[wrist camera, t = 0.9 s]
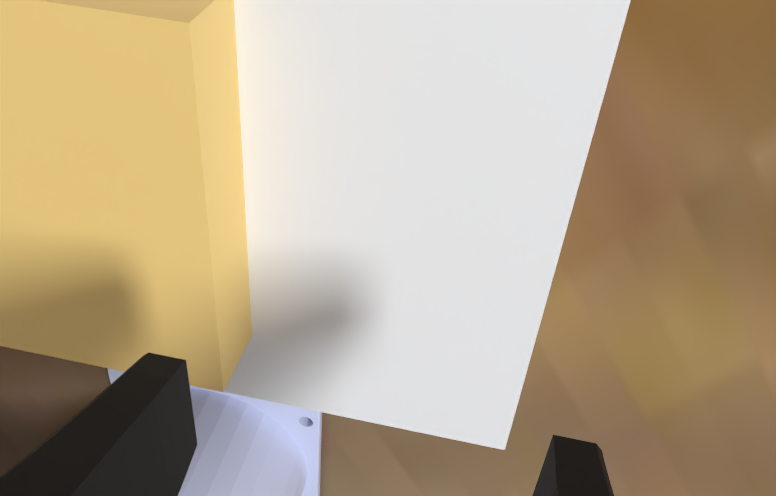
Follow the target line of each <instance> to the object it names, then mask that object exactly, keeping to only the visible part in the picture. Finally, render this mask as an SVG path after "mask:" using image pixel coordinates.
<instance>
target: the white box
mask: <svg viewBox="0 0 776 496" xmlns="http://www.w3.org/2000/svg"><path fill="white" fill-rule="evenodd" d="M630 1H631V0H234V12H235V30H236V49H237V67H238V85H239V104H240V122H241V140H242V159H243V177H244V195H245V214H246V232H247V250H248V269H249V287H250V305H251V324H252V336H251V338H250V340H249V342H248V344H247V346H246V348H245V350H244V352H243V354H242V356H241V358H240V360H239V362H238V364H237V366H236V368H235V370H234V372H233V374H232V376H231V378H230V380H229V382H228V384H227V386H226V389H225V391H224V392H227V393H232V394H237V395H242V396H247V397H251V398H256V399H261V400H266V401H271V402H276V403H280V404H285V405H290V406H295V407H300V408H304V409H309V410H314V411H319V412H324V413H329V414H333V415H338V416H343V417H348V418H353V419H358V420H362V421H367V422H372V423H377V424H382V425H386V426H391V427H396V428H401V429H406V430H411V431H415V432H420V433H425V434H430V435H435V436H439V437H444V438H449V439H454V440H459V441H464V442H468V443H473V444H478V445H483V446H488V447H492V448H497V449H502V450H505V447H506V443H507V440H508V436H509V433H510V429H511V426H512V422H513V418H514V415H515V411H516V408H517V404H518V401H519V397H520V393H521V390H522V386H523V383H524V379H525V376H526V372H527V368H528V365H529V361H530V358H531V354H532V351H533V347H534V343H535V340H536V336H537V333H538V329H539V326H540V322H541V318H542V315H543V311H544V308H545V304H546V301H547V297H548V294H549V290H550V286H551V283H552V279H553V276H554V272H555V269H556V265H557V261H558V258H559V254H560V251H561V247H562V244H563V240H564V236H565V233H566V229H567V226H568V222H569V219H570V215H571V211H572V208H573V204H574V201H575V197H576V194H577V190H578V186H579V183H580V179H581V176H582V172H583V169H584V165H585V161H586V158H587V154H588V151H589V147H590V144H591V140H592V136H593V133H594V129H595V126H596V122H597V119H598V115H599V111H600V108H601V104H602V101H603V97H604V94H605V90H606V86H607V83H608V79H609V76H610V72H611V69H612V65H613V61H614V58H615V54H616V51H617V47H618V44H619V40H620V36H621V33H622V29H623V26H624V22H625V19H626V15H627V11H628V8H629V4H630Z"/></svg>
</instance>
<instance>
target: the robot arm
mask: <svg viewBox="0 0 776 496" xmlns="http://www.w3.org/2000/svg"><path fill="white" fill-rule="evenodd" d="M107 371H108V375H109V379H110V383H111V385H110V386H108V387H107V388H106V389H105V390H104V391H103V392H102V393H101V394H99V395H98V396H97V397H96V398H95V399H94V400H93V401H92V402H90V403H89V404H88V405H87V406H86V407H85V408H83V409H82V410H81V411H80V412H79V413H78V414H77V415H75V416H74V417H73V418H72V419H71V420H70V421H68V422H67V423H66V424H65V425H64V426H63V427H61V428H60V429H59V430H58V431H57V432H55V433H54V434H53V435H52V436H50V437H49V438H48V439H47V440H46V441H44V442H43V443H42V444H41V445H40V446H38V447H37V448H36V449H35V450H34V451H32V452H31V453H30V454H29V455H28V456H26V457H25V458H24V459H23V460H22V461H20V462H19V463H18V464H17V465H15V466H14V467H13V468H12V469H10V470H9V471H8V472H6V473H5V474H4V475H2V476H1V477H0V496H320V465H321V433H322V412H319V411H314V410H309V409H304V408H300V407H295V406H290V405H285V404H280V403H276V402H271V401H266V400H261V399H256V398H251V397H247V396H242V395H237V394H232V393H227V392H220V391H215V390H210V389H205V388H201V387H196V386H191V385H189V378H188V371H187V363H186V360H183V359H178V358H174V357H169V356H164V355H159V354H154V353H149V352H148V353H147V354H145V355H144V356H142V357H141V358H140V359H139V360H138V361H136V362H135V363H134V364H133V365H132V366H131V367H130V368H129V369H127V370H126V371H125V372H123V371H119V370H114V369H109V368H107ZM533 496H614V494H613V491H612V487H611V484H610V480H609V477H608V473H607V470H606V466H605V462H604V458H603V454H602V450H601V449H600V448H599V447H598V445H597V444H595V443H591V442H586V441H581V440H576V439H571V438H566V437H561V436H556V435H553V437H552V440H551V443H550V446H549V449H548V452H547V455H546V458H545V461H544V464H543V467H542V470H541V473H540V476H539V479H538V481H537V484H536V487H535V490H534V493H533Z"/></svg>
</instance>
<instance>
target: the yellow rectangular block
mask: <svg viewBox="0 0 776 496" xmlns="http://www.w3.org/2000/svg"><path fill="white" fill-rule="evenodd" d="M251 336H252V324H251V305H250V287H249V269H248V250H247V232H246V214H245V195H244V177H243V159H242V140H241V122H240V104H239V85H238V67H237V49H236V30H235V12H234V0H0V346H3V347H8V348H13V349H17V350H22V351H27V352H32V353H37V354H42V355H46V356H51V357H56V358H61V359H66V360H70V361H75V362H80V363H85V364H90V365H95V366H99V367H104V368H109V369H114V370H119V371H123V372H125V371H126V370H127V369H129V368H130V367H131V366H132V365H133V364H134V363H135V362H136V361H138V360H139V359H140V358H141V357H142V356H144V355H145V354H147V353H148V352H149V353H154V354H159V355H164V356H169V357H174V358H178V359H183V360H186V363H187V371H188V378H189V385H191V386H196V387H201V388H205V389H210V390H215V391H220V392H224V391H225V389H226V386H227V384H228V382H229V380H230V378H231V376H232V374H233V372H234V370H235V368H236V366H237V364H238V362H239V360H240V358H241V356H242V354H243V352H244V350H245V348H246V346H247V344H248V342H249V340H250V338H251Z"/></svg>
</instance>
